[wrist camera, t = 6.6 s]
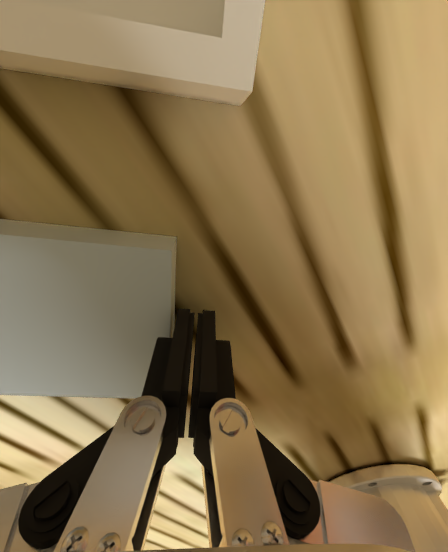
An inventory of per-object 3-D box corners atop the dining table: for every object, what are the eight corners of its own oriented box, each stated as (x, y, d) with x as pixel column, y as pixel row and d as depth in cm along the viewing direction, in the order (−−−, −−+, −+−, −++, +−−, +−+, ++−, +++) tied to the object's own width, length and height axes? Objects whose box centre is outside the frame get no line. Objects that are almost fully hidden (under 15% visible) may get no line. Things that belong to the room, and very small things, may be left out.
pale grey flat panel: (178, 232, 10) (171, 250, 8) (174, 368, 15) (169, 399, 13) (-139, 199, 9) (-224, 213, 7) (-39, 360, 13) (-76, 392, 12)
